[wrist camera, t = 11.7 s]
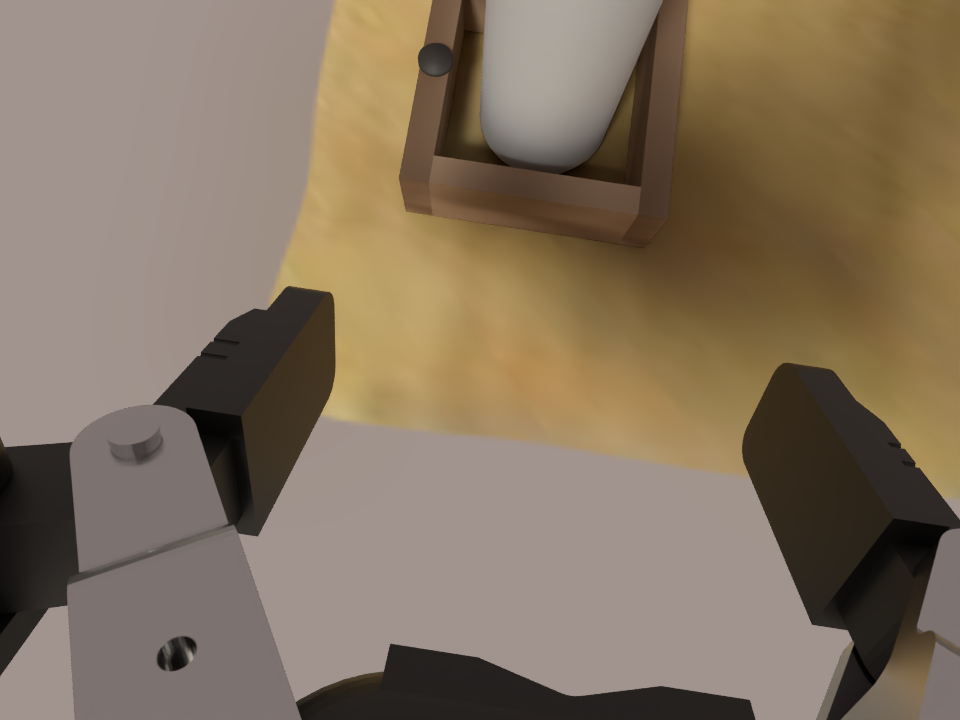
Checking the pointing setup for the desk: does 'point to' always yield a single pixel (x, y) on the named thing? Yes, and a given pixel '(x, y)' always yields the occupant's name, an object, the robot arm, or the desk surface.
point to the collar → (535, 194)
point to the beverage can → (557, 76)
